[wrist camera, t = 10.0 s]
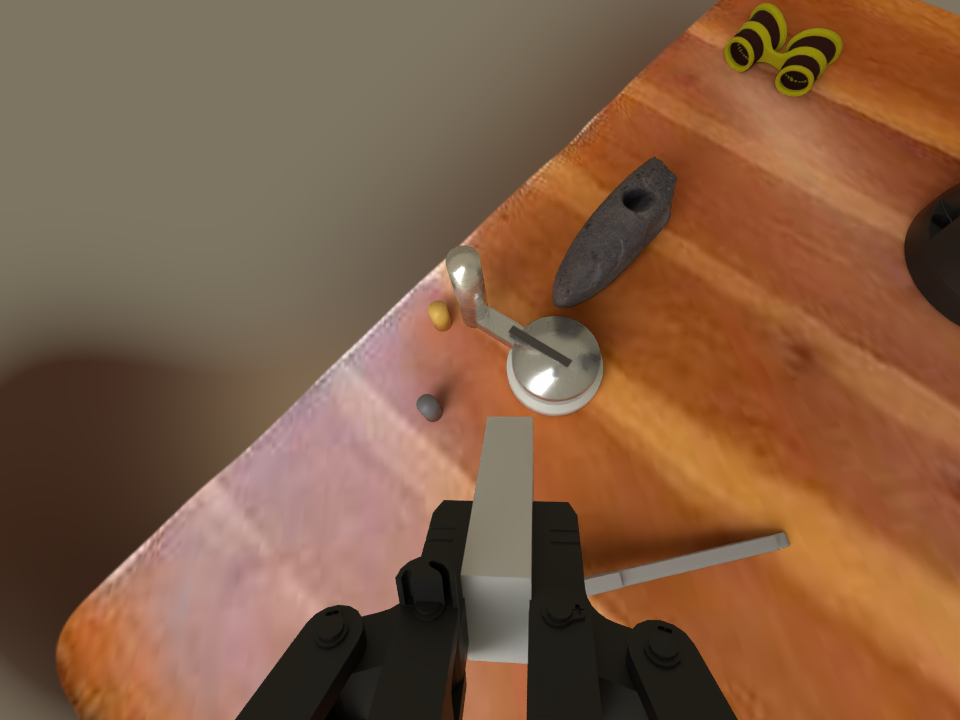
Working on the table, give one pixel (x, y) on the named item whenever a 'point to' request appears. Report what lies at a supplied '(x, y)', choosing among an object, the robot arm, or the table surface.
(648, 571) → the caliper
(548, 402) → the dial lever
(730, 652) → the table surface
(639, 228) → the perforated stone tool
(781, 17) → the opera glasses
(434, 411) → the shiny assorted pieces
